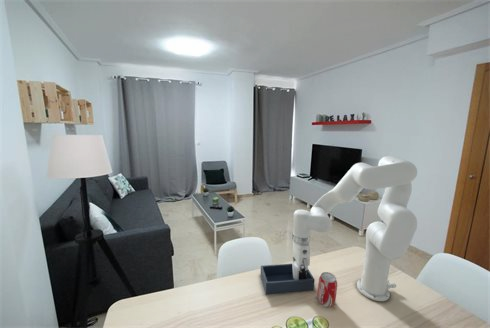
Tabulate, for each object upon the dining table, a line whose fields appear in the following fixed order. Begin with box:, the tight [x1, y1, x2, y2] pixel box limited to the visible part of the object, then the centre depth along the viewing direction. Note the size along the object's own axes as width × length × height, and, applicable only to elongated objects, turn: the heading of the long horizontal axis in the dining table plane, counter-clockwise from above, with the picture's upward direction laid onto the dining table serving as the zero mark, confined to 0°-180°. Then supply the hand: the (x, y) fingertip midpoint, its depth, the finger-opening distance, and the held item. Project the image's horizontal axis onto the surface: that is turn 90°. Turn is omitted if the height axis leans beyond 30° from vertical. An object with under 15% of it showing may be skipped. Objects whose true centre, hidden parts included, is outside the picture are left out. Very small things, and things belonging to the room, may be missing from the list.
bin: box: [260, 263, 315, 296], centre depth 101 cm, size 22×12×6 cm, turn 97°
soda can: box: [316, 271, 338, 309], centre depth 90 cm, size 7×7×12 cm
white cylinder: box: [291, 260, 307, 280], centre depth 101 cm, size 7×7×7 cm
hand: (298, 272), depth 102 cm, fingers closed on white cylinder, 6 cm apart
